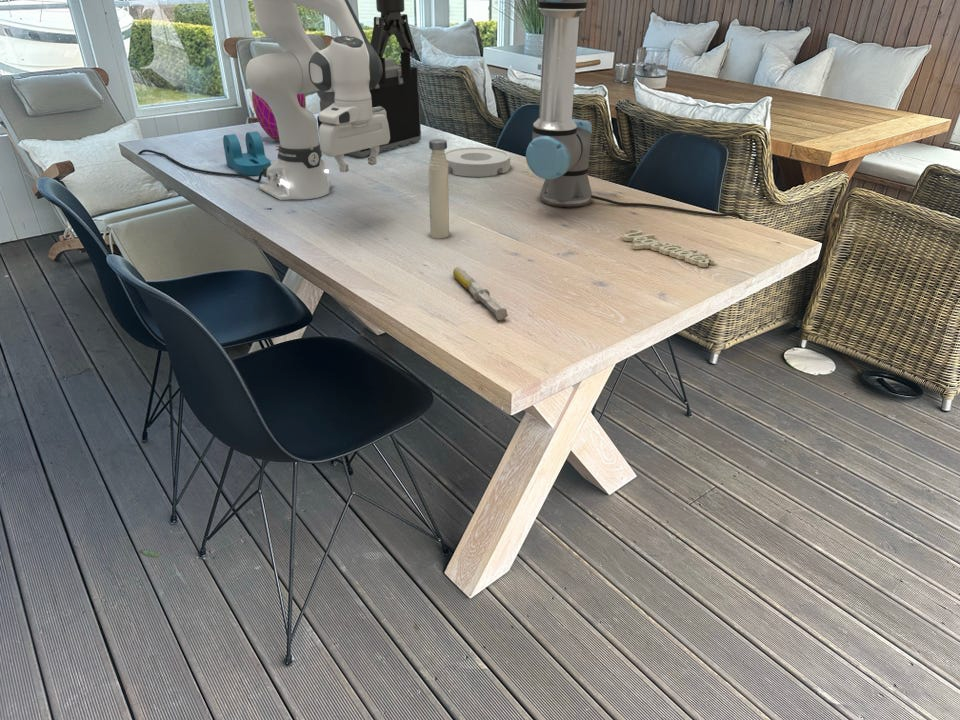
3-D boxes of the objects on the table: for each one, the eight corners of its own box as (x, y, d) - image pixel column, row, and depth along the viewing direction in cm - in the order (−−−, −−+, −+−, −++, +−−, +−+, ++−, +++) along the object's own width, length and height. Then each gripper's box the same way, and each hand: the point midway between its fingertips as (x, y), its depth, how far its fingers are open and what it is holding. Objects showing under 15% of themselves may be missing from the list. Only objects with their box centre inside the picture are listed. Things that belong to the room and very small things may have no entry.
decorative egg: (293, 132, 276) (283, 50, 261) (319, 140, 264) (310, 56, 249) (249, 139, 265) (236, 54, 250) (273, 148, 253) (261, 60, 238)
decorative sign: (608, 236, 174) (633, 227, 180) (608, 240, 175) (632, 231, 180) (698, 267, 157) (722, 256, 163) (698, 271, 158) (721, 260, 163)
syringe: (449, 274, 155) (449, 263, 153) (465, 272, 156) (464, 260, 154) (490, 323, 135) (491, 310, 133) (508, 319, 136) (508, 307, 134)
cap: (425, 147, 166) (425, 140, 165) (440, 145, 168) (440, 138, 167) (435, 151, 163) (435, 143, 162) (450, 148, 165) (450, 141, 164)
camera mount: (227, 164, 233) (221, 132, 227) (257, 160, 238) (252, 129, 233) (244, 176, 220) (239, 143, 215) (276, 172, 225) (271, 139, 220)
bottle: (427, 234, 177) (424, 141, 166) (442, 230, 180) (441, 139, 168) (436, 239, 174) (434, 145, 162) (452, 236, 176) (451, 143, 165)
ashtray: (444, 158, 243) (444, 146, 241) (509, 159, 243) (510, 147, 241) (439, 176, 224) (438, 163, 222) (510, 177, 223) (510, 165, 221)
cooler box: (383, 133, 276) (378, 52, 261) (425, 141, 265) (422, 56, 250) (314, 150, 251) (304, 61, 235) (358, 160, 240) (350, 67, 224)
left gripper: (376, 103, 175) (380, 158, 182) (312, 115, 161) (319, 173, 168) (394, 106, 172) (396, 162, 179) (329, 118, 158) (335, 178, 165)
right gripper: (401, -7, 195) (405, 73, 206) (351, -4, 176) (358, 85, 187) (424, -6, 193) (426, 75, 203) (376, -3, 173) (381, 87, 184)
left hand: (358, 167), depth 173 cm, fingers open, 8 cm apart
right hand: (394, 80), depth 195 cm, fingers open, 13 cm apart
